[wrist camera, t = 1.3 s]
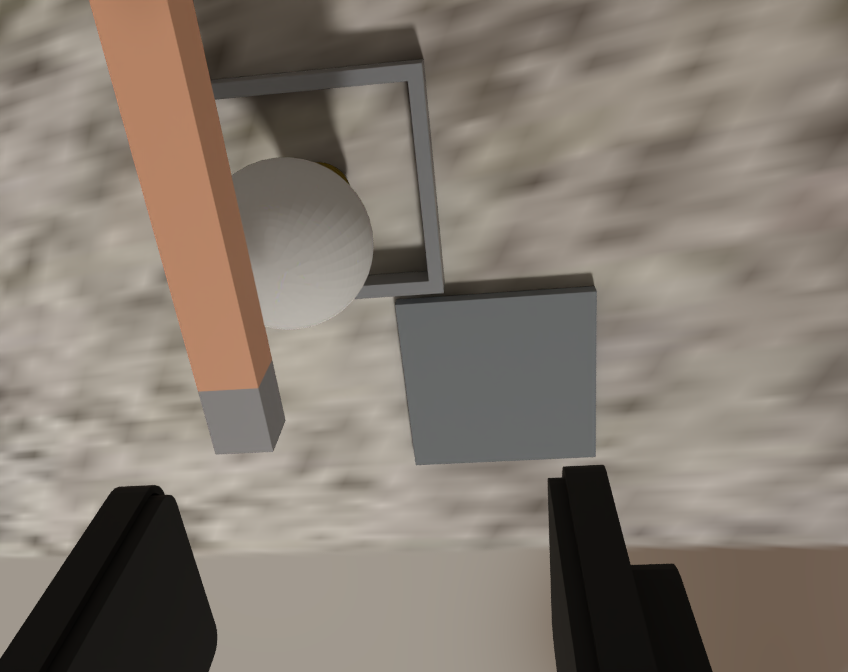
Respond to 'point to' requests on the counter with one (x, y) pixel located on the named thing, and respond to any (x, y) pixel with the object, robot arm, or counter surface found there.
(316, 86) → the square frame
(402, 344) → the mat
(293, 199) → the light bulb
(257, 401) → the tan bar
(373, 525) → the counter surface
